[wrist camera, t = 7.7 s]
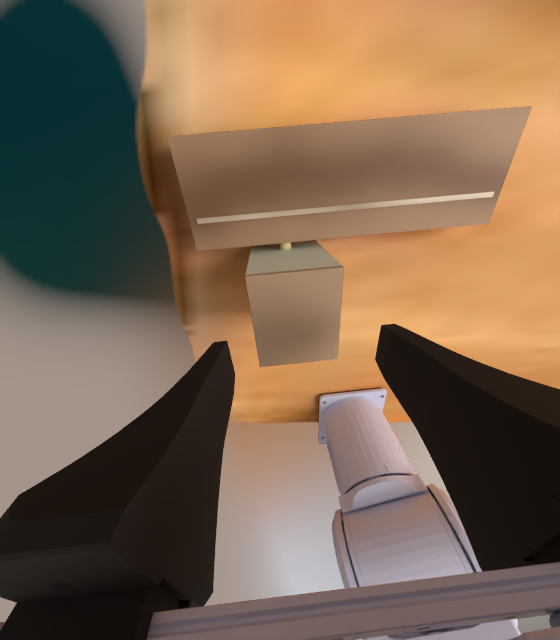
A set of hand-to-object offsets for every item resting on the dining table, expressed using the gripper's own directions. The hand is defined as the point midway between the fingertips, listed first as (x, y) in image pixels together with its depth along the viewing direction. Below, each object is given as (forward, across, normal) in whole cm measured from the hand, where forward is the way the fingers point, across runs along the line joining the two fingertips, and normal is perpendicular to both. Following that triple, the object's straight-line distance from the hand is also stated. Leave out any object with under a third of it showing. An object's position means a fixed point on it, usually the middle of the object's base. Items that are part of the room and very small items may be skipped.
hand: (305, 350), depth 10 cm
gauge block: (+10, 0, 0) cm, 10 cm away
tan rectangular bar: (+10, -4, -7) cm, 12 cm away
